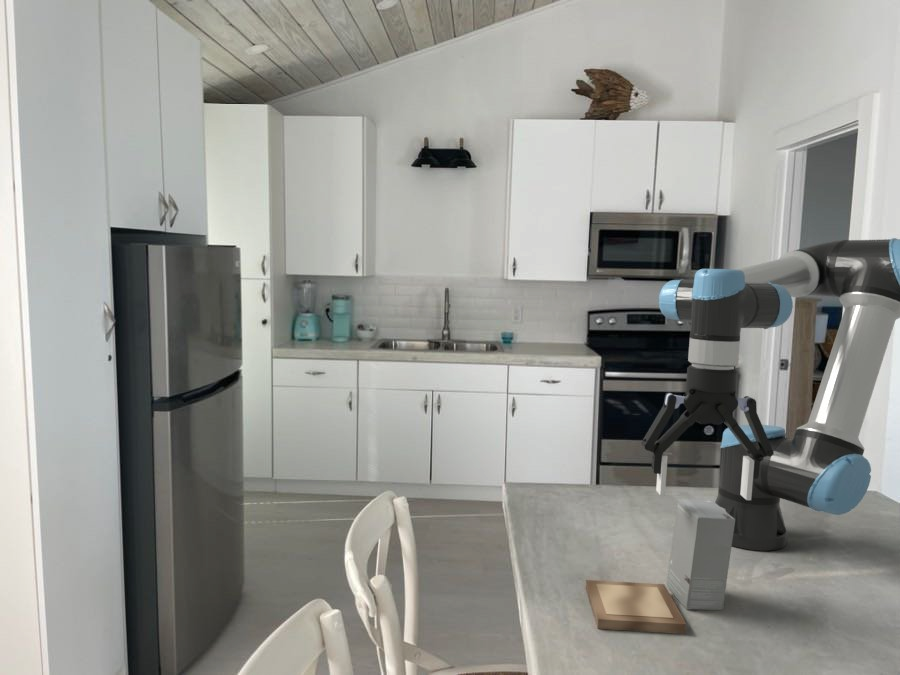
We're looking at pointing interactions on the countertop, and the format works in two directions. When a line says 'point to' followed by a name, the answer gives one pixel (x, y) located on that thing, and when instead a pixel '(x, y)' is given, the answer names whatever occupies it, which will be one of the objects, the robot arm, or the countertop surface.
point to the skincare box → (700, 554)
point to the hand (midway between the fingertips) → (702, 495)
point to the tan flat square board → (634, 607)
